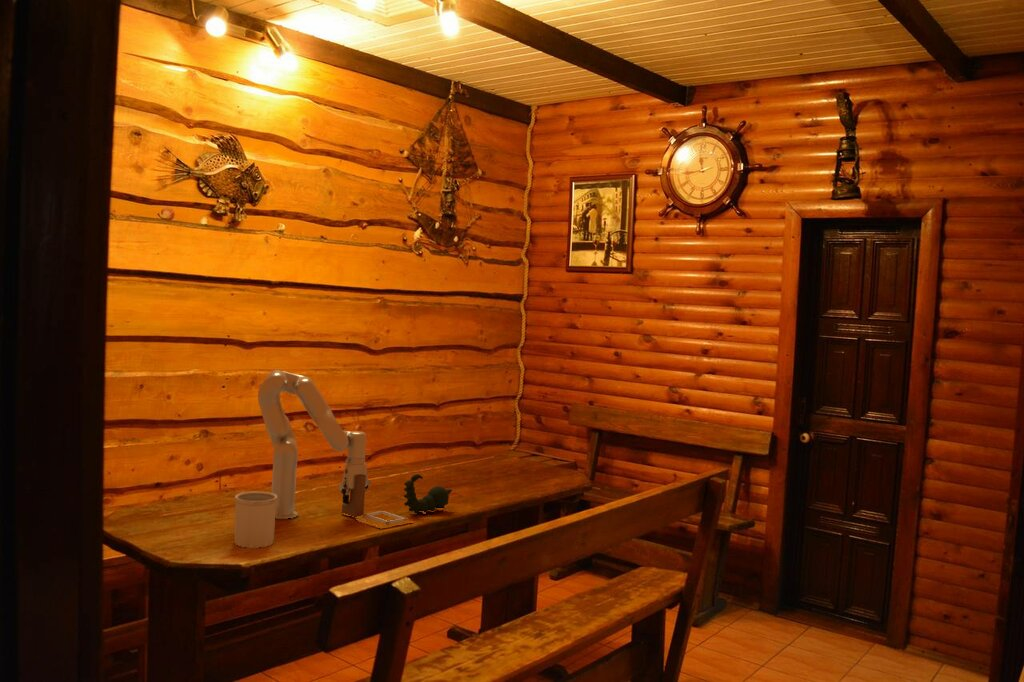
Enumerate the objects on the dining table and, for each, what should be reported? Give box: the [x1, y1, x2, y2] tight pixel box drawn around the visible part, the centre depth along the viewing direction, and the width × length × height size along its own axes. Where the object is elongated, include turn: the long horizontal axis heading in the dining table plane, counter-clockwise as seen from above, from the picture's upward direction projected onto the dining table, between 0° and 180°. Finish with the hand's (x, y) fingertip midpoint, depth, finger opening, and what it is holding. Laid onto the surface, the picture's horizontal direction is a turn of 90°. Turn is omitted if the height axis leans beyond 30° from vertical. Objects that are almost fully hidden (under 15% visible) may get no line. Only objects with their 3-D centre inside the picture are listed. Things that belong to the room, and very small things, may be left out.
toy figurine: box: [403, 473, 453, 514], centre depth 373 cm, size 9×19×25 cm
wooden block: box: [341, 475, 366, 517], centre depth 359 cm, size 9×4×18 cm, turn 52°
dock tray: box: [356, 510, 407, 526], centre depth 353 cm, size 18×16×2 cm
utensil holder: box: [234, 490, 277, 549], centre depth 311 cm, size 15×15×18 cm
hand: (353, 502), depth 359 cm, fingers open, 7 cm apart
